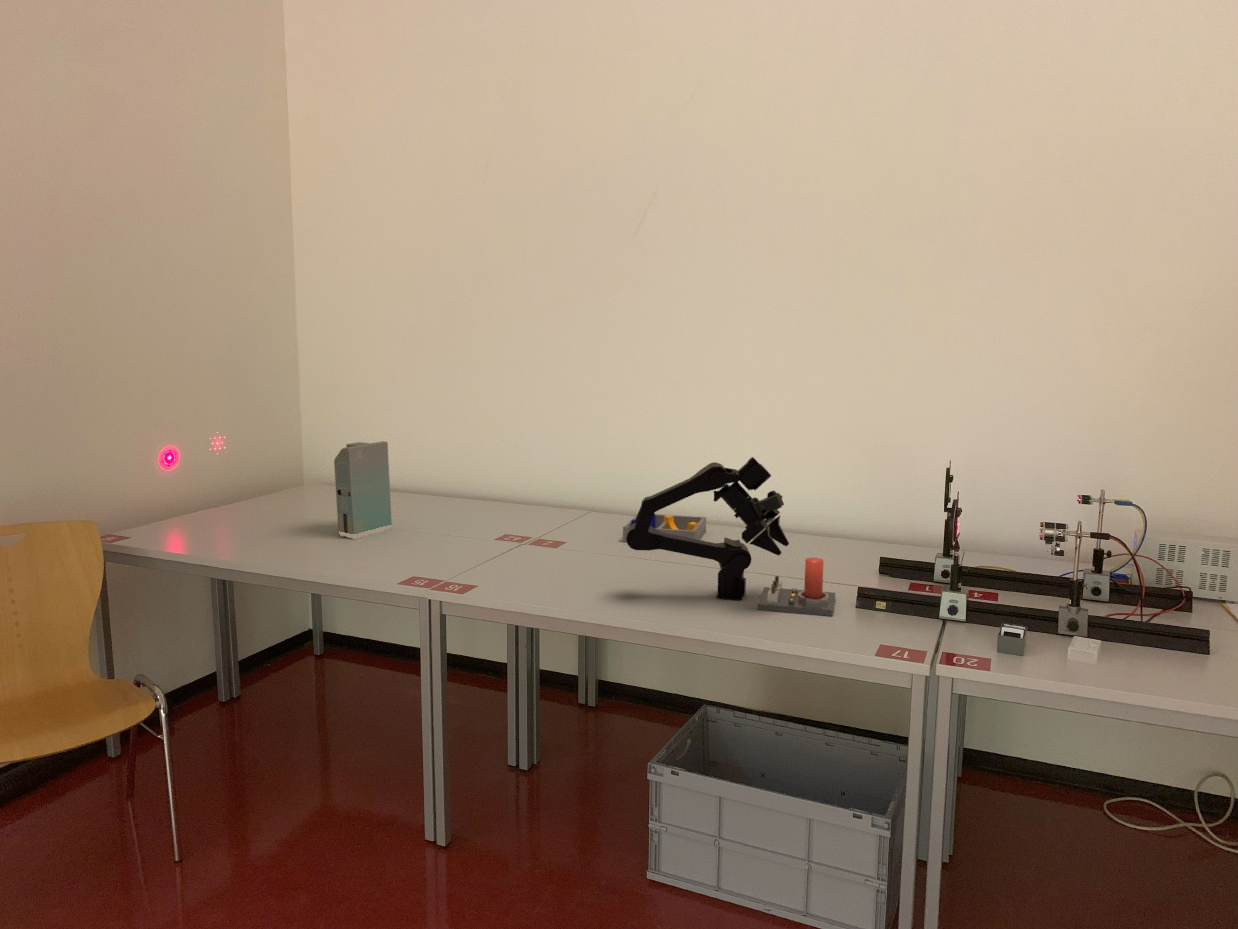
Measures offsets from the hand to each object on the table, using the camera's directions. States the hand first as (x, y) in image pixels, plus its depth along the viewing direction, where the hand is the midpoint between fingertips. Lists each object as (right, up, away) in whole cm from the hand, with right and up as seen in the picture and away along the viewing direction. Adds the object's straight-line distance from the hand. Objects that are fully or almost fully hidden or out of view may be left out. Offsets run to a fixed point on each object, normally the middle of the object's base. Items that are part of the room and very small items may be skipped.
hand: (784, 549), depth 223 cm
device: (-126, -2, +75) cm, 147 cm away
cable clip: (-33, -2, +71) cm, 78 cm away
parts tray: (-26, -2, +67) cm, 72 cm away
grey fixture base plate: (+3, -14, +1) cm, 14 cm away
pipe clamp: (-21, -3, +66) cm, 70 cm away
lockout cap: (+7, -12, -1) cm, 14 cm away
